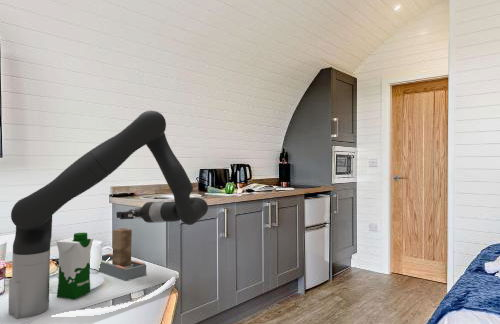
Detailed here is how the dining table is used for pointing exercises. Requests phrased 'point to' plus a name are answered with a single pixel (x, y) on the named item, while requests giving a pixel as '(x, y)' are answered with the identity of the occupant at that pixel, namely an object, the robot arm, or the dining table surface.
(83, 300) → the dining table surface
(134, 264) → the tray
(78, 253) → the milk carton
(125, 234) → the walnut block
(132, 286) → the dining table surface
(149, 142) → the robot arm
